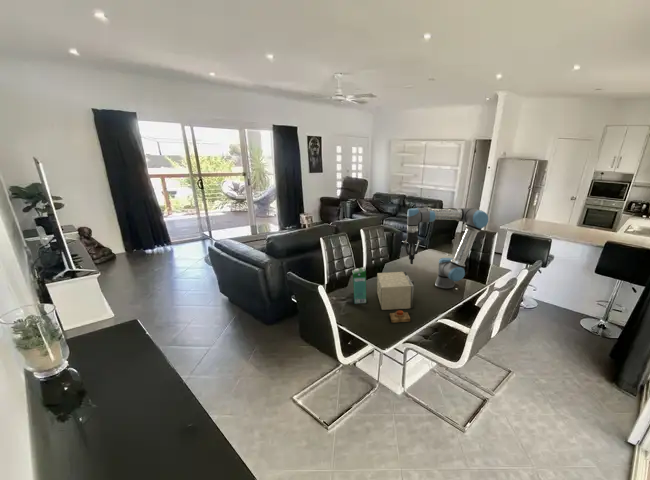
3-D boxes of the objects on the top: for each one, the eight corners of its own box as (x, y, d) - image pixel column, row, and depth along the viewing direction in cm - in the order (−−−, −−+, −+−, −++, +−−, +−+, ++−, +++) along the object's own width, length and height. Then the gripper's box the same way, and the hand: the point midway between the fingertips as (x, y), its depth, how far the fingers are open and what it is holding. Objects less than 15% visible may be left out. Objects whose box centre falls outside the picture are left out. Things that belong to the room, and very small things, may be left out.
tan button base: (407, 315, 214) (407, 309, 213) (410, 321, 206) (410, 316, 204) (389, 316, 213) (389, 310, 211) (391, 322, 205) (391, 317, 203)
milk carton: (353, 298, 240) (352, 266, 230) (365, 297, 240) (365, 266, 231) (354, 303, 231) (352, 271, 222) (366, 303, 232) (365, 270, 223)
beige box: (406, 292, 249) (406, 271, 243) (413, 308, 223) (414, 285, 217) (377, 293, 247) (377, 273, 241) (381, 310, 221) (381, 287, 215)
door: (412, 295, 243) (412, 275, 236) (418, 307, 224) (419, 285, 217) (405, 296, 242) (405, 275, 236) (410, 308, 223) (411, 286, 217)
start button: (402, 312, 210) (402, 309, 209) (403, 315, 206) (403, 312, 206) (396, 312, 210) (396, 310, 209) (397, 315, 206) (397, 313, 205)
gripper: (404, 232, 218) (403, 265, 227) (422, 232, 220) (421, 264, 228) (402, 230, 225) (401, 262, 234) (420, 229, 227) (419, 261, 235)
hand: (411, 263), depth 231 cm, fingers closed
